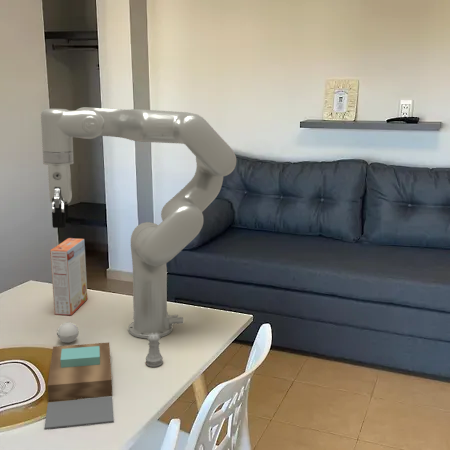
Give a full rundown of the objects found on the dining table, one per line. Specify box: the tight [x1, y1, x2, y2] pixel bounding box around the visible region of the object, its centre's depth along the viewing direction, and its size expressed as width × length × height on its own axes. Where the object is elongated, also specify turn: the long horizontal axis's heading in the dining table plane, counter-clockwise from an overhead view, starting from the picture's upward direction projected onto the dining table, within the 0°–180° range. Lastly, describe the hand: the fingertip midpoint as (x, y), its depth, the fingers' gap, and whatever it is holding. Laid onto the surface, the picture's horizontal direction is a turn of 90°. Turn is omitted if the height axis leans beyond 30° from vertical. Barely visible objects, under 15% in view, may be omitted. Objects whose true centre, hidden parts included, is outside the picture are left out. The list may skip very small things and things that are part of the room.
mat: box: [44, 395, 115, 430], centre depth 127 cm, size 14×10×1 cm
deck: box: [46, 341, 113, 403], centre depth 142 cm, size 14×20×4 cm
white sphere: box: [56, 321, 79, 344], centre depth 160 cm, size 8×6×6 cm
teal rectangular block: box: [61, 346, 100, 368], centre depth 142 cm, size 9×6×2 cm, turn 102°
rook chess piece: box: [144, 333, 164, 368], centre depth 149 cm, size 4×4×8 cm
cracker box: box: [49, 237, 88, 316], centre depth 183 cm, size 14×6×21 cm, turn 172°
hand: (60, 222), depth 154 cm, fingers open, 9 cm apart
